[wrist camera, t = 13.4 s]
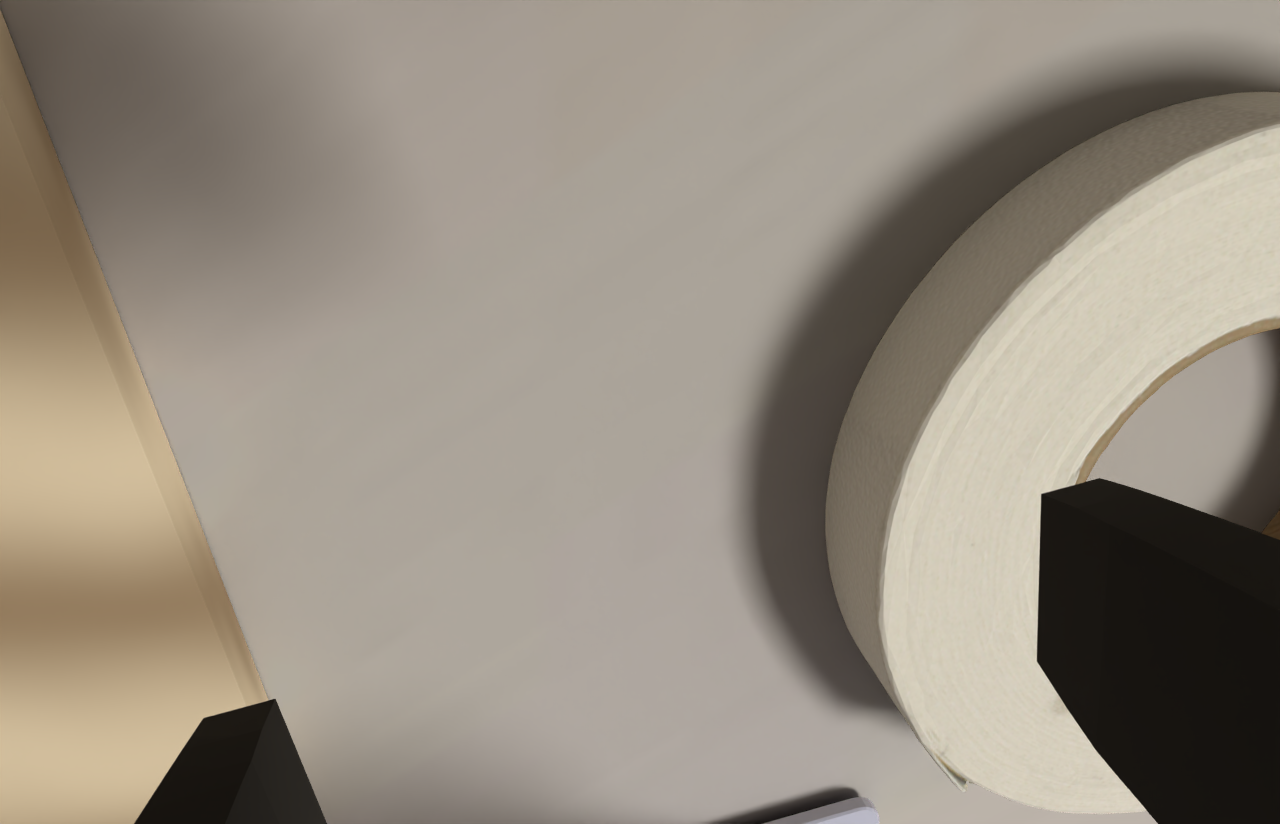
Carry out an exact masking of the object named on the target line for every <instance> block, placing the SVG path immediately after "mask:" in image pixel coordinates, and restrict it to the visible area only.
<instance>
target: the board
mask: <svg viewBox="0 0 1280 824" xmlns="http://www.w3.org/2000/svg"><path fill="white" fill-rule="evenodd" d="M265 701H269V700H268V698H267V695H266V693H265V690H264V687H263V685H262V682H261V680H260V677H259V674H258V672H257V669H256V667H255V664H254V662H253V659H252V656H251V654H250V651H249V649H248V646H247V644H246V641H245V638H244V636H243V633H242V631H241V628H240V626H239V623H238V620H237V618H236V615H235V613H234V610H233V607H232V605H231V602H230V600H229V597H228V595H227V592H226V589H225V587H224V584H223V582H222V579H221V577H220V574H219V571H218V569H217V566H216V564H215V561H214V559H213V556H212V553H211V551H210V548H209V546H208V543H207V541H206V538H205V535H204V533H203V530H202V528H201V525H200V522H199V520H198V517H197V515H196V512H195V510H194V507H193V504H192V502H191V499H190V497H189V494H188V492H187V489H186V486H185V484H184V481H183V479H182V476H181V474H180V471H179V468H178V466H177V463H176V461H175V458H174V455H173V453H172V450H171V448H170V445H169V443H168V440H167V437H166V435H165V432H164V430H163V427H162V425H161V422H160V419H159V417H158V414H157V412H156V409H155V407H154V404H153V401H152V399H151V396H150V394H149V391H148V388H147V386H146V383H145V381H144V378H143V376H142V373H141V370H140V368H139V365H138V363H137V360H136V358H135V355H134V352H133V350H132V347H131V345H130V342H129V340H128V337H127V334H126V332H125V329H124V327H123V324H122V322H121V319H120V316H119V314H118V311H117V309H116V306H115V303H114V301H113V298H112V296H111V293H110V291H109V288H108V285H107V283H106V280H105V278H104V275H103V273H102V270H101V267H100V265H99V262H98V260H97V257H96V255H95V252H94V249H93V247H92V244H91V242H90V239H89V236H88V234H87V231H86V229H85V226H84V224H83V221H82V218H81V216H80V213H79V211H78V208H77V206H76V203H75V200H74V198H73V195H72V193H71V190H70V188H69V185H68V182H67V180H66V177H65V175H64V172H63V169H62V167H61V164H60V162H59V159H58V157H57V154H56V151H55V149H54V146H53V144H52V141H51V139H50V136H49V133H48V131H47V128H46V126H45V123H44V121H43V118H42V115H41V113H40V110H39V108H38V105H37V103H36V100H35V97H34V95H33V92H32V90H31V87H30V84H29V82H28V79H27V77H26V74H25V72H24V69H23V66H22V64H21V61H20V59H19V56H18V54H17V51H16V48H15V46H14V43H13V41H12V38H11V36H10V33H9V30H8V28H7V25H6V23H5V20H4V17H3V15H2V12H1V10H0V824H134V823H135V821H136V820H137V818H138V817H139V815H140V814H141V812H142V810H143V809H144V807H145V806H146V804H147V803H148V801H149V800H150V798H151V797H152V795H153V793H154V792H155V790H156V789H157V787H158V786H159V784H160V783H161V781H162V780H163V778H164V776H165V775H166V773H167V772H168V770H169V769H170V767H171V766H172V764H173V763H174V761H175V760H176V758H177V757H178V755H179V754H180V752H181V751H182V749H183V748H184V746H185V745H186V743H187V742H188V740H189V739H190V737H191V736H192V734H193V733H194V731H195V730H196V728H197V727H198V725H199V724H200V722H201V721H202V719H203V718H205V717H209V716H213V715H217V714H220V713H224V712H228V711H231V710H235V709H239V708H243V707H246V706H250V705H254V704H258V703H261V702H265Z"/></svg>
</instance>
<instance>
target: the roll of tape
mask: <svg viewBox="0 0 1280 824" xmlns="http://www.w3.org/2000/svg"><path fill="white" fill-rule="evenodd" d="M1278 328H1280V92H1239V93H1232V94H1225V95H1218V96H1211V97H1205V98H1199V99H1195V100H1191V101H1186V102H1182V103H1178V104H1174V105H1171V106H1168V107H1165V108H1162V109H1158V110H1155V111H1152V112H1149V113H1146V114H1144V115H1141V116H1139V117H1136V118H1134V119H1131V120H1129V121H1126V122H1124V123H1121V124H1119V125H1117V126H1115V127H1113V128H1111V129H1108V130H1106V131H1104V132H1102V133H1100V134H1098V135H1096V136H1094V137H1092V138H1090V139H1089V140H1087V141H1085V142H1083V143H1081V144H1079V145H1077V146H1076V147H1074V148H1072V149H1070V150H1068V151H1067V152H1065V153H1064V154H1062V155H1061V156H1059V157H1058V158H1056V159H1055V160H1053V161H1051V162H1050V163H1048V164H1047V165H1045V166H1044V167H1042V168H1041V169H1039V170H1038V171H1036V172H1035V173H1034V174H1032V175H1031V176H1029V177H1028V178H1026V179H1025V180H1024V181H1022V182H1021V183H1020V184H1018V185H1017V186H1016V187H1015V188H1013V189H1012V190H1011V191H1010V192H1008V193H1007V194H1006V195H1005V196H1003V197H1002V198H1001V199H1000V200H999V201H998V202H997V203H995V204H994V205H993V206H992V207H991V208H990V209H989V210H988V211H986V212H985V213H984V214H983V215H982V216H981V217H980V218H979V219H978V220H977V221H975V222H974V223H973V224H972V225H971V226H970V227H969V228H968V229H967V230H966V231H965V232H964V233H963V234H962V235H961V236H960V237H959V238H958V239H957V240H956V241H955V242H954V243H953V244H952V246H951V247H950V248H949V249H948V250H947V251H946V252H945V254H944V255H943V256H942V257H941V258H940V259H939V260H938V261H937V263H936V264H935V265H934V266H933V268H932V269H931V270H930V271H929V273H928V274H927V275H926V276H925V278H924V279H923V280H922V281H921V282H920V284H919V285H918V286H917V287H916V289H915V290H914V291H913V292H912V294H911V295H910V297H909V298H908V299H907V301H906V302H905V304H904V305H903V307H902V308H901V310H900V311H899V313H898V314H897V316H896V317H895V319H894V320H893V322H892V323H891V325H890V326H889V328H888V330H887V331H886V333H885V334H884V336H883V337H882V339H881V341H880V342H879V344H878V346H877V348H876V349H875V351H874V353H873V355H872V357H871V359H870V361H869V362H868V364H867V366H866V368H865V370H864V372H863V374H862V377H861V379H860V381H859V383H858V385H857V387H856V389H855V391H854V394H853V396H852V399H851V402H850V404H849V407H848V409H847V412H846V415H845V417H844V420H843V422H842V425H841V429H840V432H839V435H838V439H837V442H836V446H835V449H834V453H833V458H832V463H831V468H830V474H829V481H828V490H827V499H826V523H825V534H826V546H827V556H828V563H829V570H830V575H831V580H832V584H833V588H834V592H835V595H836V599H837V602H838V605H839V608H840V610H841V613H842V616H843V618H844V621H845V623H846V626H847V628H848V630H849V632H850V634H851V636H852V638H853V639H854V641H855V643H856V645H857V646H858V648H859V650H860V651H861V653H862V654H863V656H864V658H865V659H866V661H867V662H868V663H869V665H870V666H871V668H872V669H873V671H874V672H875V674H876V676H877V677H878V679H879V680H880V682H881V683H882V685H883V687H884V688H885V690H886V691H887V693H888V695H889V696H890V698H891V699H892V701H893V702H894V704H895V705H896V707H897V708H898V710H899V711H900V713H901V714H902V716H903V717H904V719H905V720H906V722H907V723H908V725H909V726H910V728H911V729H912V731H913V732H914V734H915V735H916V737H917V739H918V740H919V742H920V743H921V744H922V745H923V747H924V748H925V749H926V751H927V752H928V753H929V754H930V756H931V757H932V758H933V760H934V761H935V762H936V764H937V765H938V766H939V767H940V768H941V770H942V771H943V772H944V773H945V774H946V776H947V777H948V778H949V779H950V780H951V781H952V783H953V784H954V785H955V786H956V787H958V788H959V789H960V790H961V791H962V792H966V791H967V787H968V785H967V784H966V781H969V783H973V784H976V785H979V786H981V787H983V788H984V789H986V790H988V791H990V792H992V793H995V794H997V795H1000V796H1002V797H1004V798H1006V799H1008V800H1011V801H1014V802H1018V803H1020V804H1023V805H1026V806H1031V807H1035V808H1039V809H1044V810H1049V811H1054V812H1062V813H1080V814H1112V813H1131V812H1141V811H1147V810H1146V809H1145V808H1144V807H1143V805H1142V804H1141V803H1140V802H1139V801H1138V800H1137V798H1136V797H1135V796H1134V795H1133V794H1132V793H1131V791H1130V790H1129V789H1128V788H1127V787H1126V786H1125V784H1124V783H1123V782H1122V781H1121V780H1120V779H1119V777H1118V776H1117V775H1116V774H1115V773H1114V772H1113V770H1112V769H1111V768H1110V767H1109V766H1108V764H1107V763H1106V762H1105V761H1104V760H1103V758H1102V757H1101V756H1100V755H1099V754H1098V752H1097V751H1096V750H1095V748H1094V747H1093V746H1092V744H1091V743H1090V741H1089V740H1088V738H1087V737H1086V735H1085V734H1084V732H1083V731H1082V730H1081V728H1080V727H1079V725H1078V724H1077V722H1076V721H1075V719H1074V718H1073V717H1072V715H1071V714H1070V712H1069V711H1068V709H1067V708H1066V706H1065V705H1064V703H1063V701H1062V700H1061V698H1060V697H1059V695H1058V694H1057V692H1056V691H1055V689H1054V687H1053V686H1052V684H1051V683H1050V681H1049V680H1048V678H1047V676H1046V675H1045V673H1044V672H1043V670H1042V669H1041V667H1040V666H1039V664H1038V662H1037V628H1038V591H1039V554H1040V516H1041V494H1043V493H1046V492H1050V491H1054V490H1057V489H1061V488H1065V487H1069V486H1072V485H1076V484H1080V483H1084V482H1086V480H1087V478H1088V476H1089V474H1090V472H1091V470H1092V468H1093V467H1094V465H1095V463H1096V462H1097V460H1098V458H1099V457H1100V455H1101V454H1102V452H1103V451H1104V450H1105V449H1106V447H1107V446H1108V444H1109V443H1110V441H1111V440H1112V439H1113V437H1114V436H1115V435H1116V433H1117V432H1118V431H1119V429H1120V428H1121V427H1122V425H1123V424H1124V423H1125V422H1126V420H1127V419H1128V418H1129V417H1130V416H1131V415H1132V414H1133V413H1134V412H1135V410H1136V409H1137V408H1138V407H1139V406H1140V405H1141V404H1143V403H1144V402H1145V401H1146V400H1147V399H1148V398H1149V397H1150V396H1151V395H1152V394H1154V393H1155V392H1156V391H1157V390H1158V389H1159V388H1160V387H1161V386H1162V385H1163V384H1164V383H1166V382H1167V381H1168V380H1169V379H1171V378H1172V377H1173V376H1174V375H1176V374H1177V373H1179V372H1180V371H1182V370H1183V369H1185V368H1186V367H1188V366H1189V365H1191V364H1193V363H1194V362H1196V361H1197V360H1199V359H1201V358H1202V357H1204V356H1206V355H1207V354H1209V353H1211V352H1213V351H1215V350H1217V349H1219V348H1221V347H1223V346H1226V345H1228V344H1230V343H1232V342H1235V341H1237V340H1240V339H1242V338H1245V337H1247V336H1250V335H1254V334H1257V333H1261V332H1265V331H1269V330H1273V329H1278ZM1262 534H1265V535H1268V536H1270V537H1273V538H1276V539H1279V540H1280V510H1279V511H1278V513H1277V514H1276V515H1275V516H1274V518H1273V519H1272V520H1271V521H1270V522H1269V524H1268V525H1267V526H1266V528H1265V529H1264V530H1263V532H1262Z"/></svg>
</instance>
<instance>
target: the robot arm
mask: <svg viewBox="0 0 1280 824" xmlns="http://www.w3.org/2000/svg"><path fill="white" fill-rule="evenodd" d="M1037 662H1038V664H1039V666H1040V667H1041V669H1042V670H1043V672H1044V673H1045V675H1046V676H1047V678H1048V680H1049V681H1050V683H1051V684H1052V686H1053V687H1054V689H1055V691H1056V692H1057V694H1058V695H1059V697H1060V698H1061V700H1062V701H1063V703H1064V705H1065V706H1066V708H1067V709H1068V711H1069V712H1070V714H1071V715H1072V717H1073V718H1074V719H1075V721H1076V722H1077V724H1078V725H1079V727H1080V728H1081V730H1082V731H1083V732H1084V734H1085V735H1086V737H1087V738H1088V740H1089V741H1090V743H1091V744H1092V746H1093V747H1094V748H1095V750H1096V751H1097V752H1098V754H1099V755H1100V756H1101V757H1102V758H1103V760H1104V761H1105V762H1106V763H1107V764H1108V766H1109V767H1110V768H1111V769H1112V770H1113V772H1114V773H1115V774H1116V775H1117V776H1118V777H1119V779H1120V780H1121V781H1122V782H1123V783H1124V784H1125V786H1126V787H1127V788H1128V789H1129V790H1130V791H1131V793H1132V794H1133V795H1134V796H1135V797H1136V798H1137V800H1138V801H1139V802H1140V803H1141V804H1142V805H1143V807H1144V808H1145V809H1146V810H1147V811H1148V812H1149V814H1150V815H1151V816H1152V817H1153V818H1154V819H1155V821H1156V822H1157V823H1158V824H1280V540H1279V539H1276V538H1273V537H1270V536H1268V535H1265V534H1262V533H1259V532H1257V531H1254V530H1251V529H1248V528H1246V527H1243V526H1240V525H1237V524H1234V523H1232V522H1229V521H1226V520H1223V519H1221V518H1218V517H1215V516H1212V515H1210V514H1207V513H1204V512H1201V511H1198V510H1196V509H1193V508H1190V507H1187V506H1184V505H1182V504H1179V503H1176V502H1173V501H1170V500H1167V499H1164V498H1162V497H1159V496H1156V495H1153V494H1150V493H1147V492H1144V491H1141V490H1138V489H1134V488H1131V487H1128V486H1125V485H1122V484H1118V483H1115V482H1111V481H1108V480H1104V479H1100V478H1099V479H1095V480H1091V481H1087V482H1084V483H1080V484H1076V485H1072V486H1069V487H1065V488H1061V489H1057V490H1054V491H1050V492H1046V493H1043V494H1041V516H1040V554H1039V591H1038V628H1037ZM134 824H327V823H326V820H325V818H324V816H323V813H322V811H321V808H320V806H319V803H318V801H317V799H316V796H315V794H314V791H313V789H312V786H311V784H310V782H309V779H308V777H307V774H306V772H305V769H304V767H303V765H302V762H301V760H300V757H299V755H298V752H297V750H296V748H295V745H294V743H293V740H292V738H291V736H290V733H289V731H288V728H287V726H286V723H285V721H284V719H283V716H282V714H281V711H280V709H279V706H278V704H277V702H276V699H273V700H269V701H265V702H261V703H258V704H254V705H250V706H246V707H243V708H239V709H235V710H231V711H228V712H224V713H220V714H217V715H213V716H209V717H205V718H203V719H202V721H201V722H200V724H199V725H198V727H197V728H196V730H195V731H194V733H193V734H192V736H191V737H190V739H189V740H188V742H187V743H186V745H185V746H184V748H183V749H182V751H181V752H180V754H179V755H178V757H177V758H176V760H175V761H174V763H173V764H172V766H171V767H170V769H169V770H168V772H167V773H166V775H165V776H164V778H163V780H162V781H161V783H160V784H159V786H158V787H157V789H156V790H155V792H154V793H153V795H152V797H151V798H150V800H149V801H148V803H147V804H146V806H145V807H144V809H143V810H142V812H141V814H140V815H139V817H138V818H137V820H136V821H135V823H134ZM763 824H879V815H878V812H877V810H876V809H875V807H874V805H873V803H872V802H871V801H870V800H869V799H867V798H863V797H856V798H850V799H847V800H843V801H840V802H836V803H833V804H829V805H826V806H822V807H819V808H816V809H812V810H809V811H805V812H802V813H798V814H795V815H791V816H788V817H784V818H781V819H777V820H774V821H770V822H767V823H763Z"/></svg>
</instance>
